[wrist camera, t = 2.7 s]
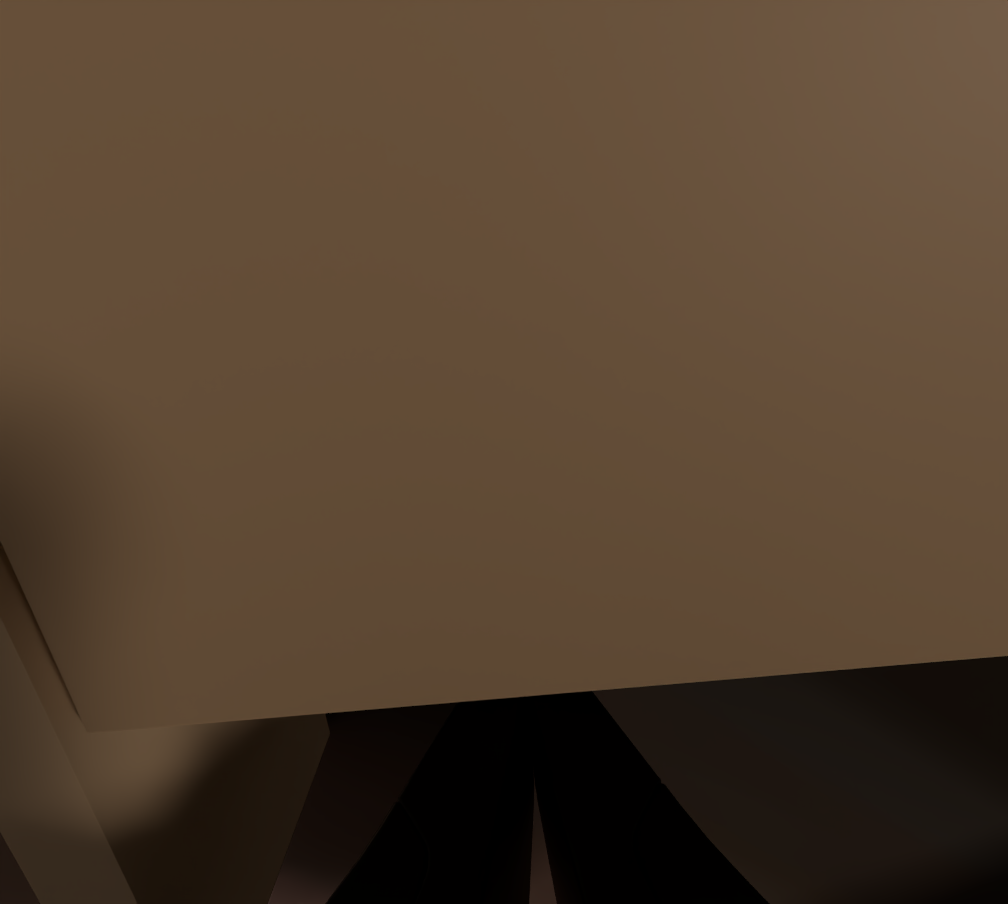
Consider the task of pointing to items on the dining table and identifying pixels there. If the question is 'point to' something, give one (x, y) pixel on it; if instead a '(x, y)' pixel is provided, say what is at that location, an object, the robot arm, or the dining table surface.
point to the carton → (499, 345)
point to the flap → (140, 789)
